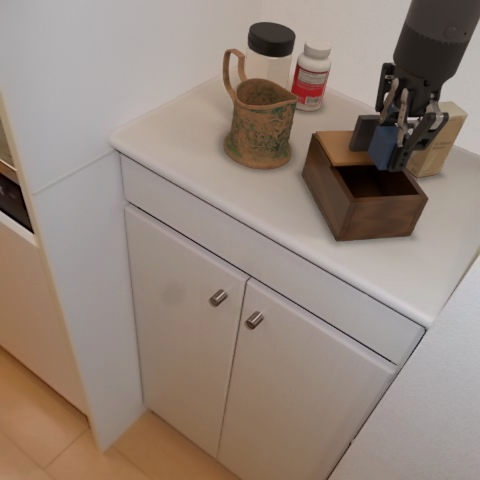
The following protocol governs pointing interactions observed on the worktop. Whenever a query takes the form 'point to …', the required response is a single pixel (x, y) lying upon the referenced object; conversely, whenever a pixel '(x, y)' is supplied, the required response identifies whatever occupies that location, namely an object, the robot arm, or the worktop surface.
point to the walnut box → (362, 197)
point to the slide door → (350, 142)
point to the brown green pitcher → (258, 119)
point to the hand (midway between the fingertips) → (386, 159)
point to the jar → (269, 52)
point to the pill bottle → (311, 74)
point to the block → (383, 145)
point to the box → (438, 143)
